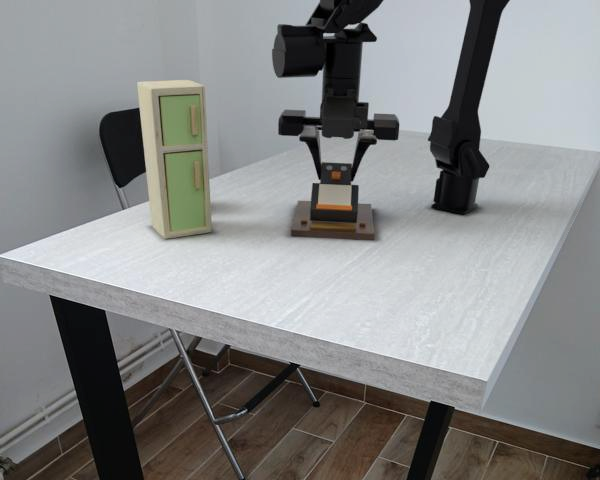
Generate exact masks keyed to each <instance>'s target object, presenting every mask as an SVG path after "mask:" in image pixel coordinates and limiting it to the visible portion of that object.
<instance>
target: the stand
mask: <svg viewBox="0 0 600 480" xmlns="http://www.w3.org/2000/svg"><path fill="white" fill-rule="evenodd" d="M310 206H311V200H297V204H296V208H295V212H294V217H293V221H292V225H291V229H290V237H301V238H302V237H303V238H322V239H323V238H324V239H342V240H343V239H345V240H364V241H365V240H366V241H367V240H368V241H374V240H375V225H374V217H373V207H372V206H373V205H372V203H362V202H361V203H360V202H358V215H357V223H345V222H325V221H310Z"/></svg>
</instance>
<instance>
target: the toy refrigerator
mask: <svg viewBox="0 0 600 480" xmlns="http://www.w3.org/2000/svg"><path fill="white" fill-rule="evenodd" d="M136 85H137V87H136V88H137V96H138V106H139V108H138V109H139V115H140V117H139V118H140V125H141V136H142V145H143V154H144V162H145V173H146V182H147V193H148V203H149V211H150V221H151V227H152V228H153V229H154V230H155V231H156V232H157V233H158V234H159V235H160V236H161V237H162V238H163V239H165V240H167V239H174V238H181V237H188V236H194V235H201V234H208V233H212V231H213V223H212V206H211V205H212V204H211V187H210V186H211V185H210V184H211V183H210V169H209V167H210V166H209V149H208V148H209V146H208V145H209V144H208V127H207V109H206V108H207V105H206V88H205V86H204V85H203V84H201V83H198V82H196V81H193V80H190V79H172V80H169V79H168V80H150V81H149V80H146V81H137V83H136Z"/></svg>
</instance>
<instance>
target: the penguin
mask: <svg viewBox="0 0 600 480" xmlns="http://www.w3.org/2000/svg"><path fill="white" fill-rule="evenodd" d="M321 164H322V169H321V179H320V180H319V182H312V185H311V198H310V201H311V206H310V221H325V222H345V223H357V215H358V203H359V189H360V185H359V184H352V182H351V171H352V164H353V163H351V162H350V163H349V162H327V161H326V162H323V161H321Z"/></svg>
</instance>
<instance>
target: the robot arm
mask: <svg viewBox="0 0 600 480" xmlns="http://www.w3.org/2000/svg"><path fill="white" fill-rule="evenodd" d="M384 1H385V0H319V2H318V4H317V5H316V7H315V8H314V10H313V12H312V13H311V15H310V17H309V18H308V20H307V22H306V23H305V24H304V25H293V24H286V23H279V24H277V26H276V27H277V28H276V29H277V31H276V32H277V34H276V35H275V38H274V41H273V48H272V49H271V60H272V61H271V62H272V67H273V71H274V74H275V76H276V77H277V78H278V79H286V78H289V79H291V78H314V77H317V75H318V74H319V72H320V71H322V81H321V82H322V83H321V103H320V106H319V107H320V108H319V116H307V111H306V110H303V109H284V110H282V112H281V113H280V115H279V118H278V123H277V125H278V126H277V128H278V129H277V131H278V133H277V134H278V136H281V137H282V136H283V137H284V136H285V137H299V138H298V140H299V142H302V143H305V144H306V146H307V147H308V150H309V152H310V155H311V157H312V160H313V164H314V168H315V172H316V175H317V179H318V181H320V179H321V169H322V151H321V136H322V137H323V138H326V139H331V138H343V139H344V140H348V139H352V138H354V135H355V132H356V133H357V139H356V143H355V148H354V155H353V160H352V163H351V164H352V171H351V183H352V182H354V180H355V178H356V176H357V172H358V170H359V167H360V165H361V162H362V160H363V158H364V156H365V154H366V152H367V150H368V149H369V148H370V146H376V145H377V143H378V141H399V134H400V120H399V117H398V116H397V115H396V114H395V113H376V112H375V113H373V118H372V119H369V105H370V103H369V102H368V101H367V102H365V101H360V88H361V74H362V73H361V72H362V61H363V60H362V59H363V47H364V43H376V42H377V41H378V37H377V36H376V34H375V33H373V31H372V30H371V28H370V27H369V24H368V23H365V22H363V21H364V20H366V19H367V18H368V17H369V16H371V14H373V13H374V12H375V11H376V10H377V9H379V8H380V6H381V5H382V4H383V2H384ZM468 1H469V13H468V17H467V23H466V27H465V31H464V35H463V41H462V45H461V50H460V53H459V58H458V63H457V66H456V67H457V68H456V71H455V76H454V81H453V85H452V90H451V95H450V100H449V103H448V106H447V108H446V109H445V111H444V113H443V114H442V115H441V116H437V115H434V116H433V118H432V124H431V131H430V134H429V136H428V138H427V142H429V151H430V153H431V155H432V156H433V158H434V161H435V167H436V168H437V169H440V171H439V176H438V178H437V179H436V180H435V187H434V194H433V204H431V208H432V209H435V210H440V211H445V212H450V213H455V214H459V215H466V214H468V213H470V212H471V211H473V210H475V209H477V208H478V207H479V204H478V203H476V199H477V192H478V188H479V182H480V179H484V178H486V176H487V174H488V171H489V169H490V163H488V160H487V159H486V158H485V157H484V155H483V153H482V152H481V150H480V146H481V136H482V128H481V122H480V118H479V108H480V104H481V100H482V95H483V92H484V87H485V83H486V79H487V75H488V70H489V67H490V63H491V59H492V55H493V50H494V47H495V42H496V39H497V38H496V37H497V33H498V30H499V25H500V22H501V18H502V14H503V11H504V10H505V8H506V7H507V5H508V4H509V3H510V1H511V0H468ZM354 25H356V26H355V27H354V28H347V27H348V26H354ZM324 34H333V35H325V36H324ZM320 131H321V135H320Z"/></svg>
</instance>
